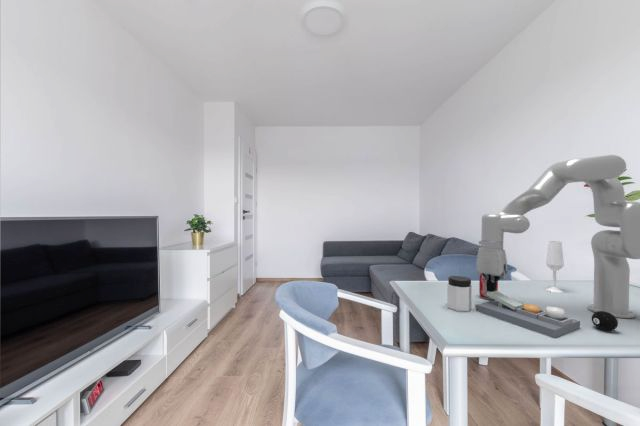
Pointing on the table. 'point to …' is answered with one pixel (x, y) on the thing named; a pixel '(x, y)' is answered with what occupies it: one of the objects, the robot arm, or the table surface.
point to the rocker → (504, 300)
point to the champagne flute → (554, 261)
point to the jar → (459, 293)
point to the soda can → (484, 288)
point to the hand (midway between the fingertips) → (491, 291)
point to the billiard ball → (604, 320)
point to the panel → (529, 319)
